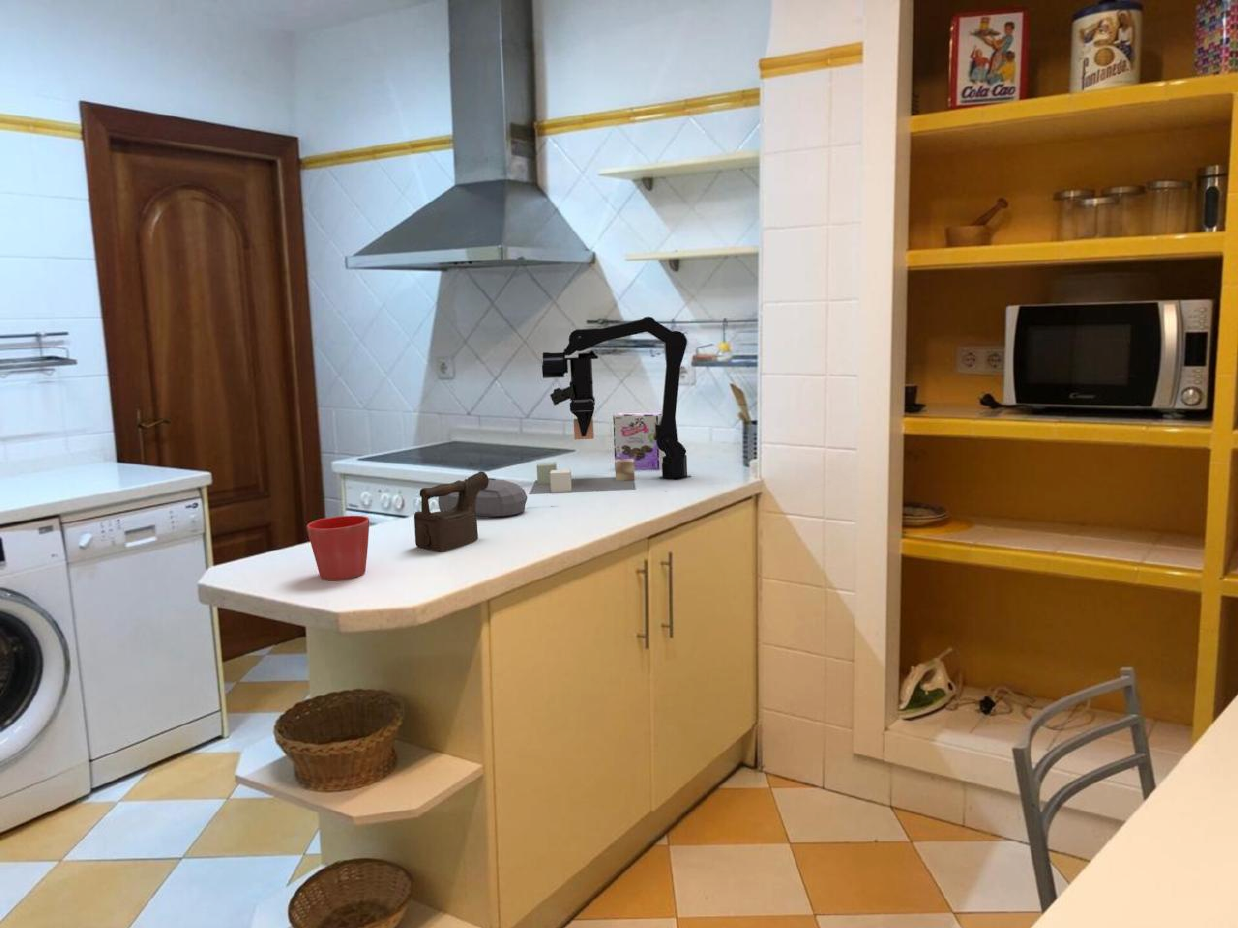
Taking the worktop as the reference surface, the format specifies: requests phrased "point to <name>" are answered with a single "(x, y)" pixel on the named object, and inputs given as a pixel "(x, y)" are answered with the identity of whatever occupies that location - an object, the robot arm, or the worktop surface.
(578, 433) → the terracotta block
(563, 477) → the taupe block
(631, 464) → the beech block
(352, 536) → the flower pot
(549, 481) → the sage block
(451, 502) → the soft grey pack
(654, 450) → the candy box
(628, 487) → the slate mat
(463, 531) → the clothes iron
